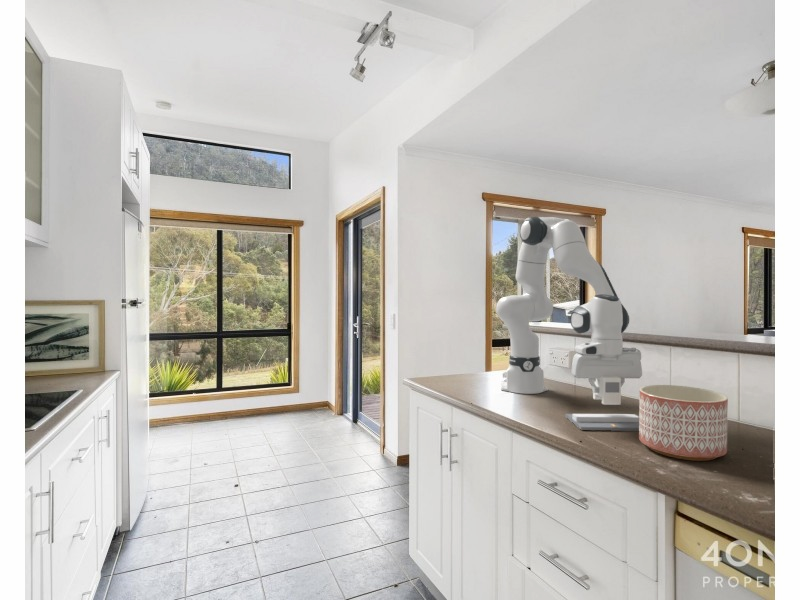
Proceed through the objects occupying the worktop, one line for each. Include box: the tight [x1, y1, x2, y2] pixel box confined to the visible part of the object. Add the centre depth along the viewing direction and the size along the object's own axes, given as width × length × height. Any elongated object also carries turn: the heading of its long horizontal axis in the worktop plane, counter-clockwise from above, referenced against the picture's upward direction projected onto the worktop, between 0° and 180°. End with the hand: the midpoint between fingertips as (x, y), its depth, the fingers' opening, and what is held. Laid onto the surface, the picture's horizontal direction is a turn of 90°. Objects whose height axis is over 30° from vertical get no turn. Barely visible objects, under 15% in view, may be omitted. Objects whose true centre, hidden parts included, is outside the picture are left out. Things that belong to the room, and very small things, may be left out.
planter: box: [638, 384, 729, 462], centre depth 116 cm, size 19×19×15 cm
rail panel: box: [564, 413, 639, 432], centre depth 138 cm, size 14×20×2 cm
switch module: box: [592, 377, 622, 406], centre depth 138 cm, size 8×5×8 cm, turn 178°
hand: (606, 392), depth 138 cm, fingers closed on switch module, 5 cm apart
